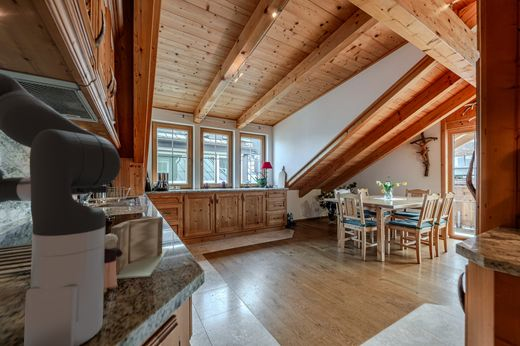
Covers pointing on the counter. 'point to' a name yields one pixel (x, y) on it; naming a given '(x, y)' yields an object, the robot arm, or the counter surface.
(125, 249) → the panel
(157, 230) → the fence panel
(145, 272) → the board
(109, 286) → the grandmother figurine
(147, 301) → the counter surface
